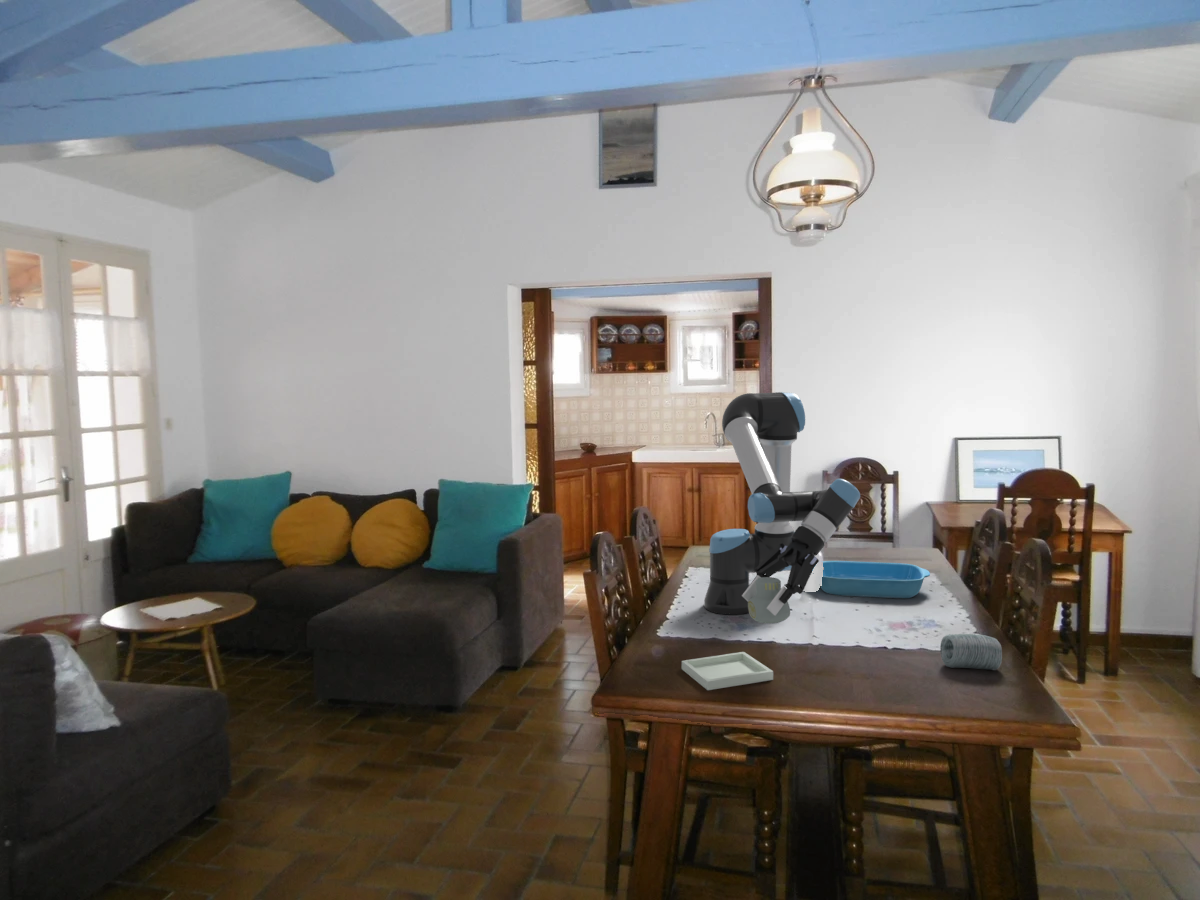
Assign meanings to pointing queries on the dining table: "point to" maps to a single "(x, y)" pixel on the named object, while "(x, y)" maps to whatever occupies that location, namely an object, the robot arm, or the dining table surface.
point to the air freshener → (767, 602)
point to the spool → (971, 651)
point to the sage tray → (726, 670)
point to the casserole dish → (872, 579)
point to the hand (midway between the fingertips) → (758, 605)
